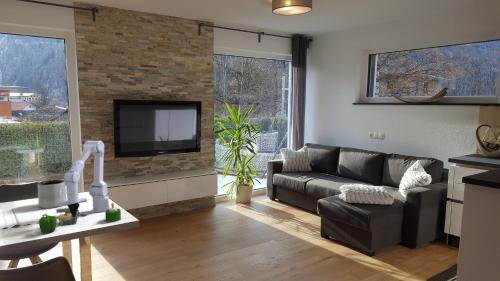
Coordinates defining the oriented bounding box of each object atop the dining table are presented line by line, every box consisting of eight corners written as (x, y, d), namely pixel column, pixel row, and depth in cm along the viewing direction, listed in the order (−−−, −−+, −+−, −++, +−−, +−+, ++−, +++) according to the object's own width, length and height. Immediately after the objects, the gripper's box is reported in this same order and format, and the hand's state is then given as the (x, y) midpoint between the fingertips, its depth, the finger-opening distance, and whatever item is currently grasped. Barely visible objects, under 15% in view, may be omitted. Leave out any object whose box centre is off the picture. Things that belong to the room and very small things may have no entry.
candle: (123, 218, 213) (123, 201, 212) (115, 222, 205) (115, 205, 204) (111, 217, 215) (110, 200, 214) (102, 221, 207) (101, 204, 206)
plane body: (66, 214, 219) (65, 210, 219) (78, 213, 222) (78, 209, 221) (61, 225, 201) (61, 221, 200) (76, 223, 203) (75, 219, 203)
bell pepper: (54, 227, 197) (53, 209, 196) (59, 231, 191) (58, 213, 190) (36, 231, 191) (35, 213, 190) (42, 235, 185) (40, 216, 184)
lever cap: (72, 216, 209) (71, 212, 209) (70, 219, 203) (70, 216, 202) (60, 217, 207) (60, 213, 207) (58, 221, 200) (58, 217, 200)
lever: (74, 211, 216) (73, 207, 216) (56, 213, 213) (56, 209, 213) (74, 210, 219) (74, 206, 219) (57, 211, 216) (56, 208, 216)
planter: (35, 209, 230) (33, 185, 228) (43, 202, 246) (41, 180, 244) (63, 207, 234) (61, 184, 232) (69, 201, 249) (67, 178, 248)
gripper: (83, 189, 212) (84, 212, 214) (56, 194, 202) (57, 218, 204) (87, 191, 208) (89, 215, 209) (60, 196, 197) (62, 221, 199)
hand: (74, 216), depth 206 cm, fingers closed
